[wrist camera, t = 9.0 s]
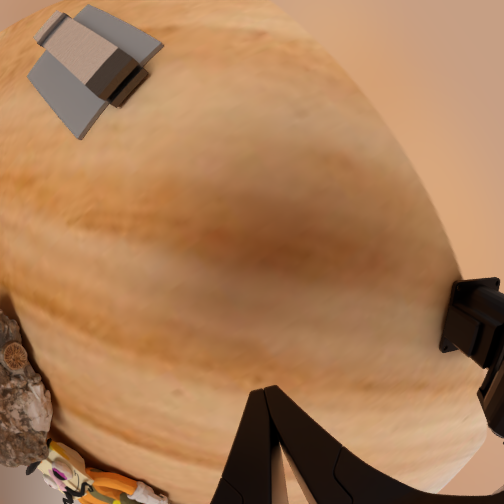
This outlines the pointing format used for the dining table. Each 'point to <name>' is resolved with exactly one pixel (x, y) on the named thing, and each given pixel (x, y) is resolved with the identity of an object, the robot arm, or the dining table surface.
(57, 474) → the toy
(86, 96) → the mat
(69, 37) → the layered block
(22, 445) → the rock
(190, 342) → the dining table surface
